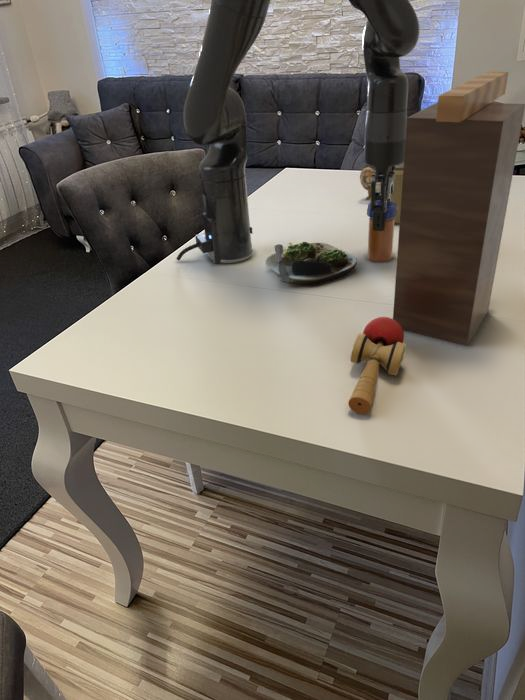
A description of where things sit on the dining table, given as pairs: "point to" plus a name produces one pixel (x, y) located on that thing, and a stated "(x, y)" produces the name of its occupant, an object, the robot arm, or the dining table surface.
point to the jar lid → (390, 211)
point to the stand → (453, 218)
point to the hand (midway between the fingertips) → (381, 224)
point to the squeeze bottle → (398, 190)
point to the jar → (380, 241)
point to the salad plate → (310, 263)
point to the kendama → (375, 358)
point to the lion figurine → (367, 179)
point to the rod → (470, 97)
